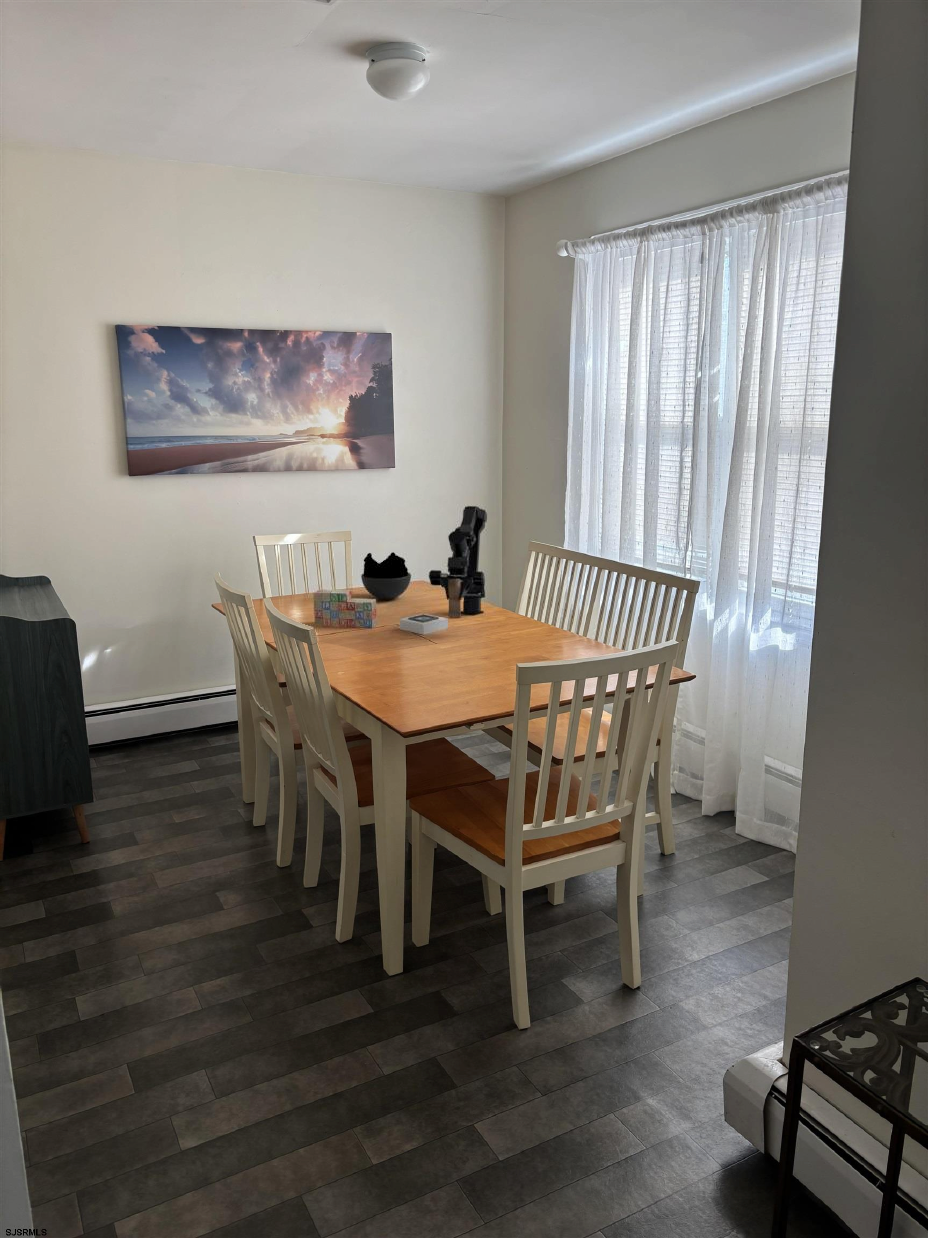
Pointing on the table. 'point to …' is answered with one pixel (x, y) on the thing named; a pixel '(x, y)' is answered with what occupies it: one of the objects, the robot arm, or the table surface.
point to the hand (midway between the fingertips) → (453, 599)
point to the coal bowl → (385, 576)
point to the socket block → (423, 623)
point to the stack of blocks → (343, 609)
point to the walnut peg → (454, 599)
